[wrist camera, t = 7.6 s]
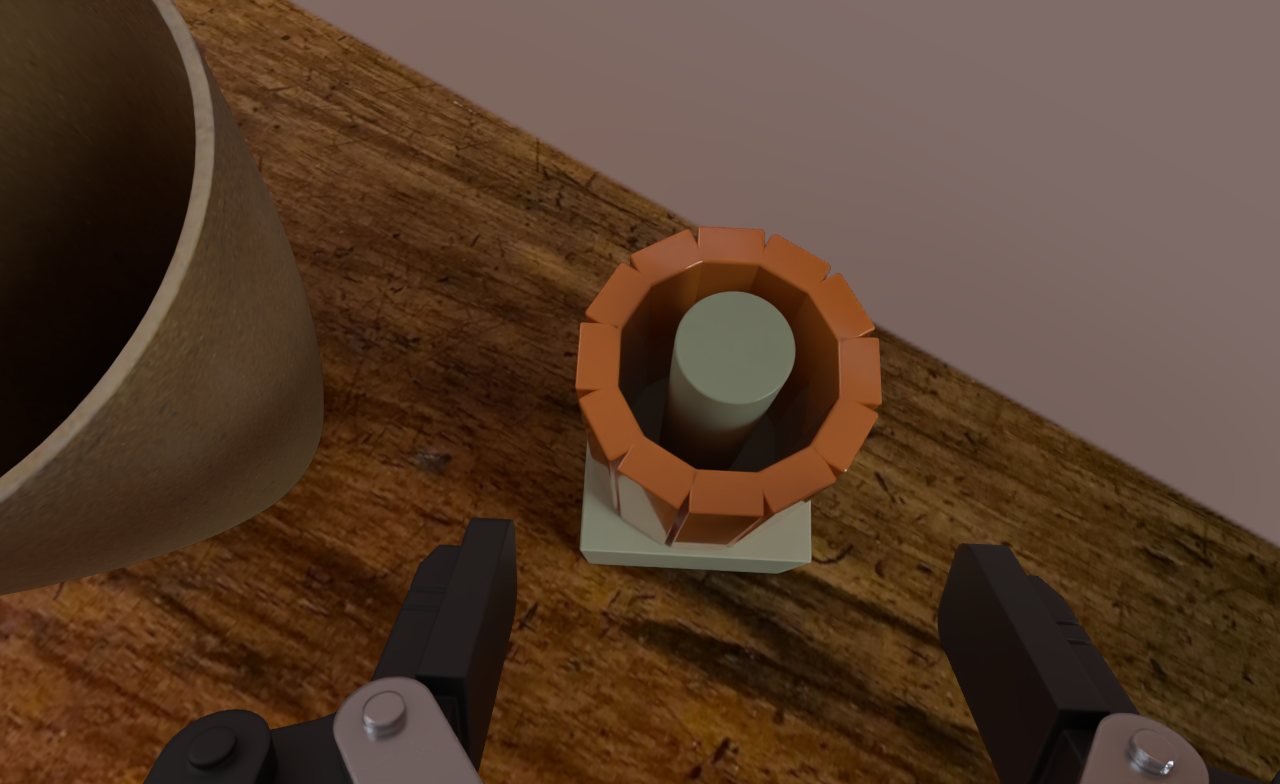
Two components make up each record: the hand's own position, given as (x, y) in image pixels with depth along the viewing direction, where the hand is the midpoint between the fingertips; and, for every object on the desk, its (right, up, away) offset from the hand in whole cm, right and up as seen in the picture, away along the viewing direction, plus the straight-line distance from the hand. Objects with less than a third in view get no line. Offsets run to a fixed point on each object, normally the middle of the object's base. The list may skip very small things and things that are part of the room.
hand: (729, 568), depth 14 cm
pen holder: (0, +2, +9) cm, 9 cm away
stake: (0, 0, +14) cm, 14 cm away
